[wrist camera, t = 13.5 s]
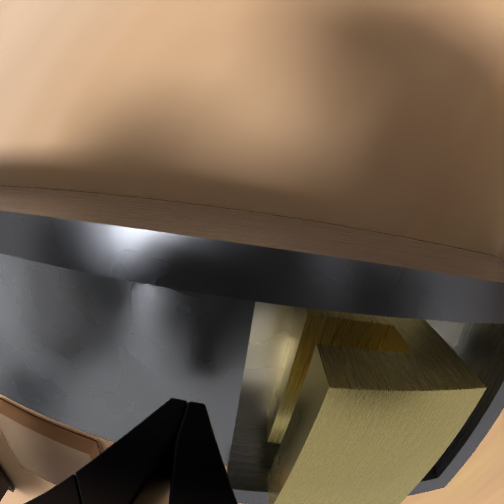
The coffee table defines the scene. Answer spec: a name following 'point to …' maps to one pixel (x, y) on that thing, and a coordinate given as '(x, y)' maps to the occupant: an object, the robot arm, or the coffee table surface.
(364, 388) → the olive boxy piece
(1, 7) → the coffee table surface
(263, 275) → the rail
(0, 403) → the brown tile
